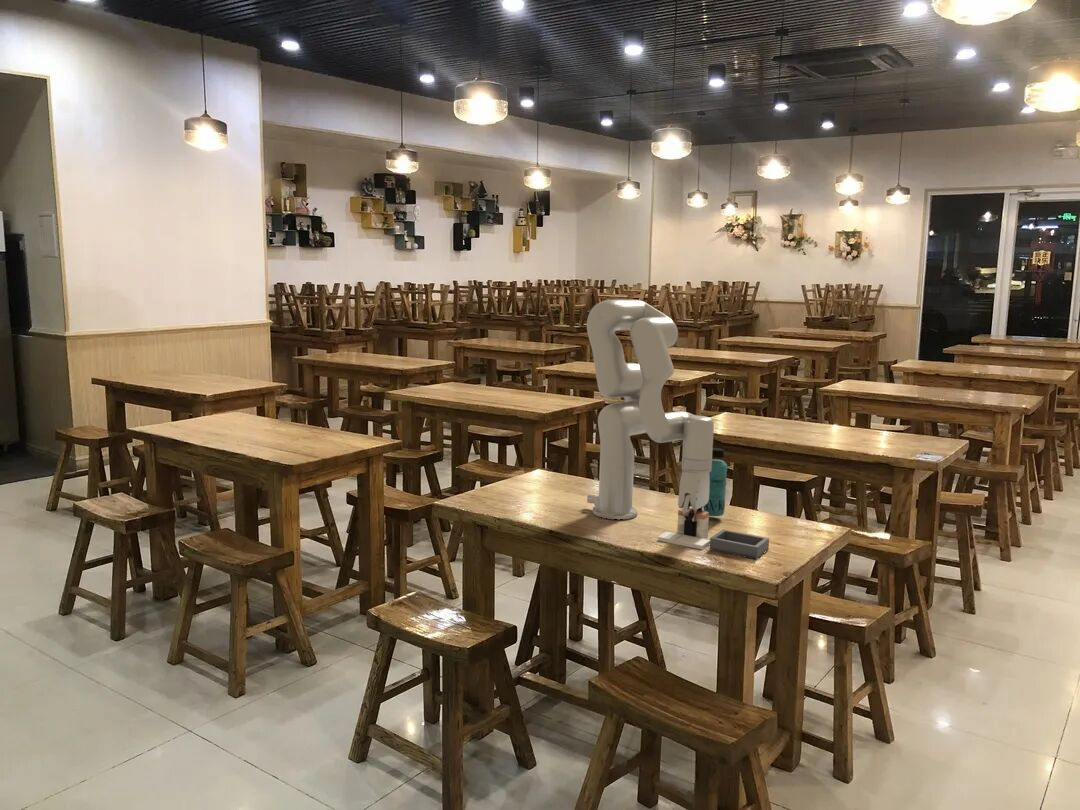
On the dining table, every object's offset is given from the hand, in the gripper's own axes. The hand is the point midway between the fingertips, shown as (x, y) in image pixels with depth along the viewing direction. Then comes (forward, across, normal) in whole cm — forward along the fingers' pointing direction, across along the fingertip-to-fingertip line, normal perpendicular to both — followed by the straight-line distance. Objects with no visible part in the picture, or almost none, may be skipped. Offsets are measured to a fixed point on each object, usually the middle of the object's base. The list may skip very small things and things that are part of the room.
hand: (693, 532), depth 221 cm
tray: (+1, +2, +13) cm, 13 cm away
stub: (+1, 0, 0) cm, 1 cm away
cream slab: (+1, +5, 0) cm, 5 cm away
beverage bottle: (+1, -20, -2) cm, 20 cm away
